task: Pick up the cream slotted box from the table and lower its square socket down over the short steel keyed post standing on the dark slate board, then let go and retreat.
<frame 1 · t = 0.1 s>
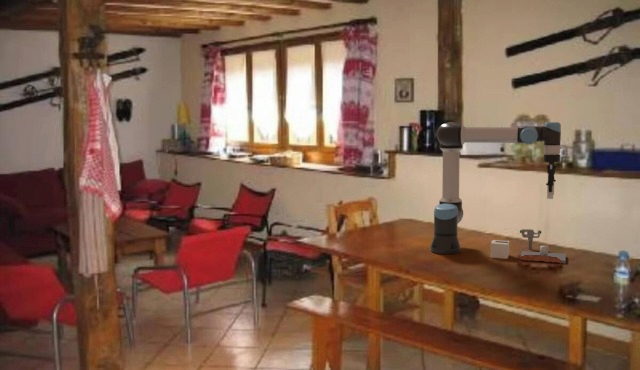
hand: (550, 196, 316), 28 cm above the table, fingers open, 13 cm apart
mechanical component: (530, 249, 327), on the table
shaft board: (543, 258, 307), on the table
cream slotted box: (499, 256, 313), on the table
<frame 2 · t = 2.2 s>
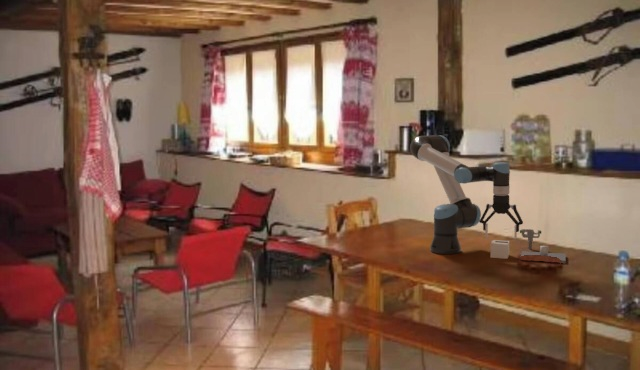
hand: (500, 237, 311), 9 cm above the table, fingers open, 13 cm apart
nothing on the table moved.
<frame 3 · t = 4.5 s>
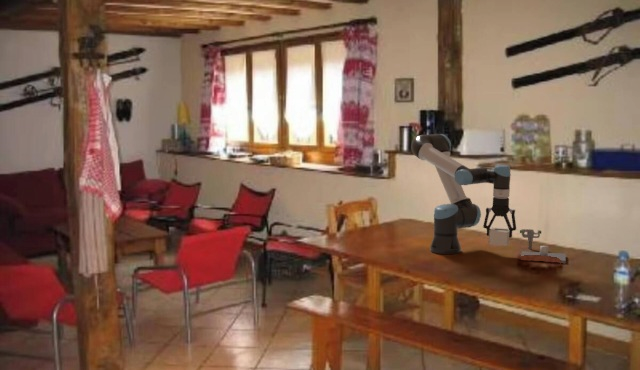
hand: (498, 243, 313), 6 cm above the table, fingers closed on cream slotted box, 8 cm apart
cream slotted box: (498, 243, 313), point 6 cm above the table, touching gripper
everything else where it was.
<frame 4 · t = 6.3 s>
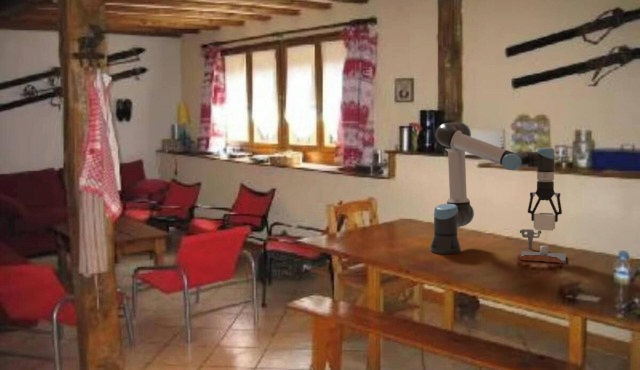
hand: (544, 228, 305), 15 cm above the table, fingers closed on cream slotted box, 8 cm apart
cream slotted box: (544, 228, 305), point 15 cm above the table, touching gripper
everything else where it was.
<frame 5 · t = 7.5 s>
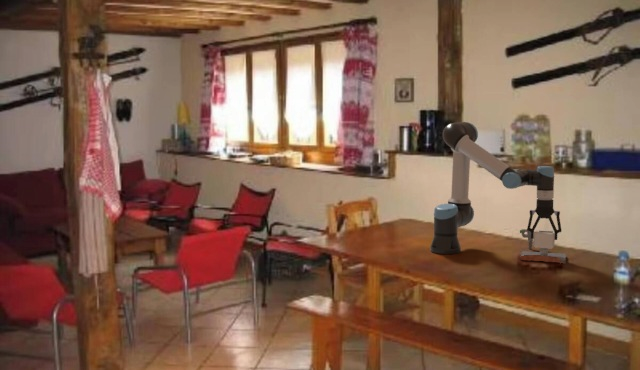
hand: (543, 245, 306), 6 cm above the table, fingers closed on cream slotted box, 8 cm apart
cream slotted box: (543, 246, 306), point 6 cm above the table, touching gripper
everything else where it was.
when the fingers open (3 cm above the table, at t = 8.5 s): cream slotted box drops 1 cm, resting on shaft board.
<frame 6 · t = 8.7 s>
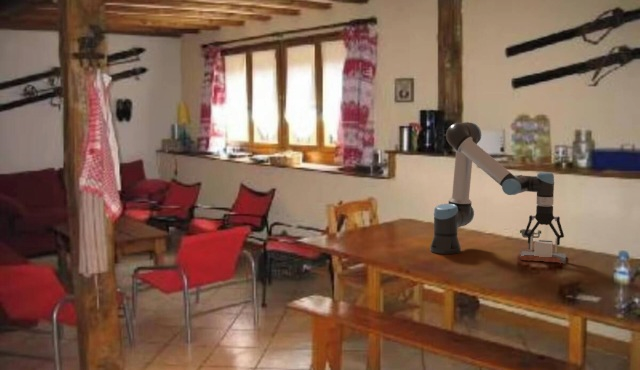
hand: (543, 250, 306), 4 cm above the table, fingers open, 10 cm apart
cream slotted box: (543, 255, 306), point 1 cm above the table, touching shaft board
everything else where it was.
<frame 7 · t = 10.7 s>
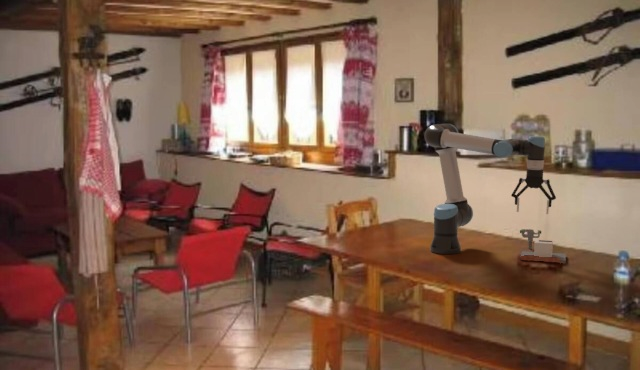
hand: (532, 212, 309), 22 cm above the table, fingers open, 13 cm apart
nothing on the table moved.
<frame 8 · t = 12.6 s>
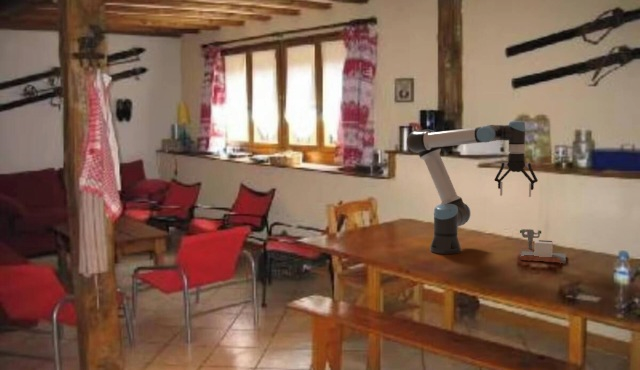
hand: (515, 196, 315), 29 cm above the table, fingers open, 13 cm apart
nothing on the table moved.
at the end: cream slotted box 0.1 cm from the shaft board (horizontally); cream slotted box point 1.5 cm above the table; cream slotted box tilted 0° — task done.
